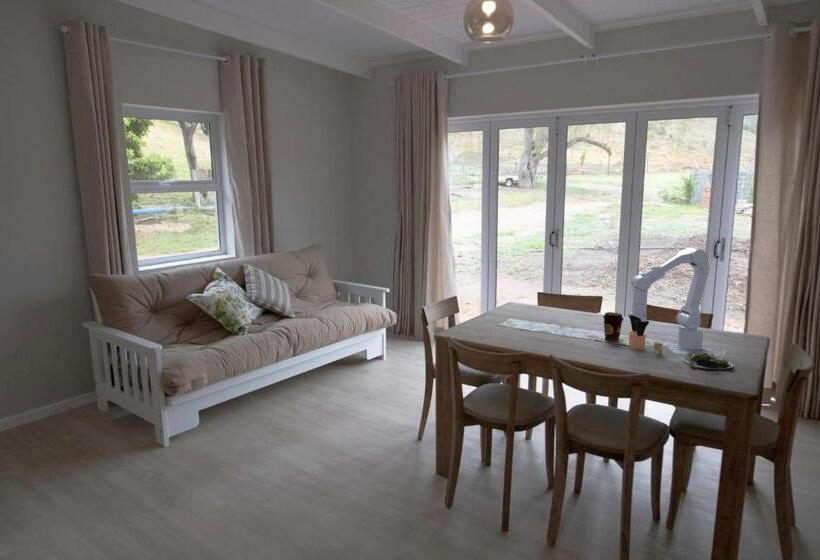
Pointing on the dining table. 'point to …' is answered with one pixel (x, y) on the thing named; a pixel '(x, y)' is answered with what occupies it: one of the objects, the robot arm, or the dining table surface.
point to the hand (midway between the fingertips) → (637, 333)
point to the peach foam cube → (636, 340)
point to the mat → (650, 352)
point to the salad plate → (707, 362)
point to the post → (658, 348)
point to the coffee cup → (612, 326)
